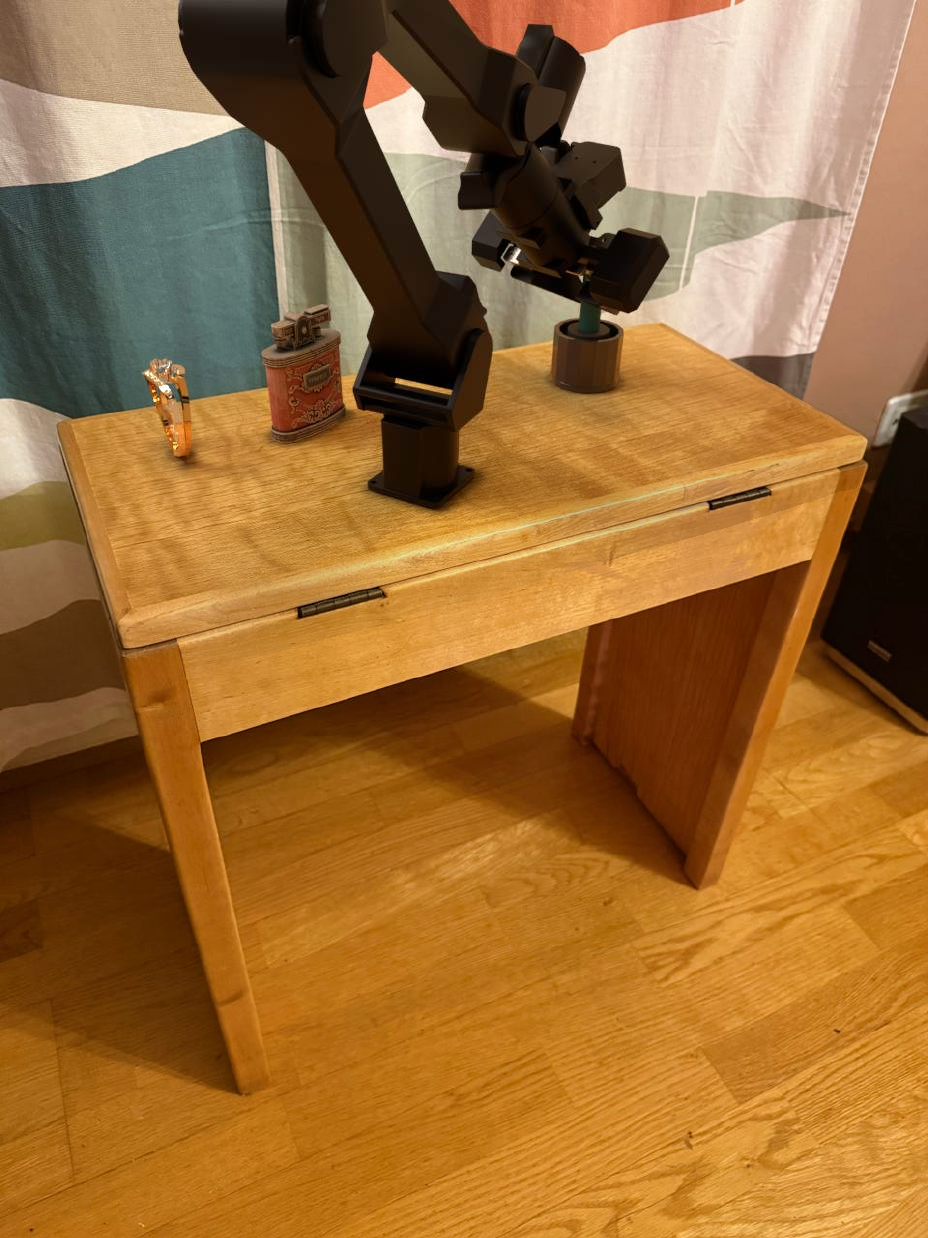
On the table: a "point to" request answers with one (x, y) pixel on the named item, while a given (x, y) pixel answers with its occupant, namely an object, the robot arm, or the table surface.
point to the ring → (171, 403)
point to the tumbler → (586, 359)
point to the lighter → (304, 375)
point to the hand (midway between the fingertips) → (600, 304)
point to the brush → (588, 323)
